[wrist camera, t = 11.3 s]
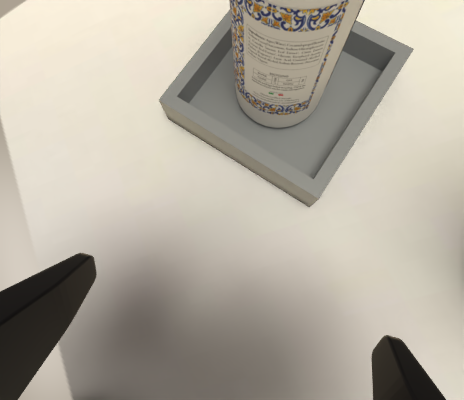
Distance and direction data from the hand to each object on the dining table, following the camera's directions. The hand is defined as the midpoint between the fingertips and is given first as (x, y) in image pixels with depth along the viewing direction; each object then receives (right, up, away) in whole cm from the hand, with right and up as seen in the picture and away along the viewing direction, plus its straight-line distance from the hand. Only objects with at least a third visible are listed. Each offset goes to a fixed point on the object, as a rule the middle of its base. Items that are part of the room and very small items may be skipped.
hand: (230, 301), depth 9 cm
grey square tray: (+4, +12, +16) cm, 21 cm away
